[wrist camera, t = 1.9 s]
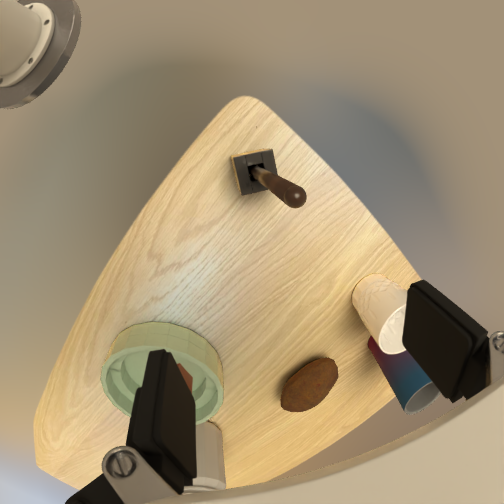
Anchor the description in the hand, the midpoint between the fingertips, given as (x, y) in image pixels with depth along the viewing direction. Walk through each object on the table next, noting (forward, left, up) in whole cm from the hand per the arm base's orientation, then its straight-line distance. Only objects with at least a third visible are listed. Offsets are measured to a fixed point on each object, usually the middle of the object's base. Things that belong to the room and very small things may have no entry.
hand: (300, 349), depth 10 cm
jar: (-18, -39, -26) cm, 50 cm away
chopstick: (+2, +4, -26) cm, 26 cm away
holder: (+2, +4, -26) cm, 26 cm away
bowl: (-17, -21, -26) cm, 37 cm away
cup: (+18, -27, -26) cm, 42 cm away
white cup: (+16, -17, -26) cm, 35 cm away
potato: (+4, -29, -26) cm, 39 cm away
